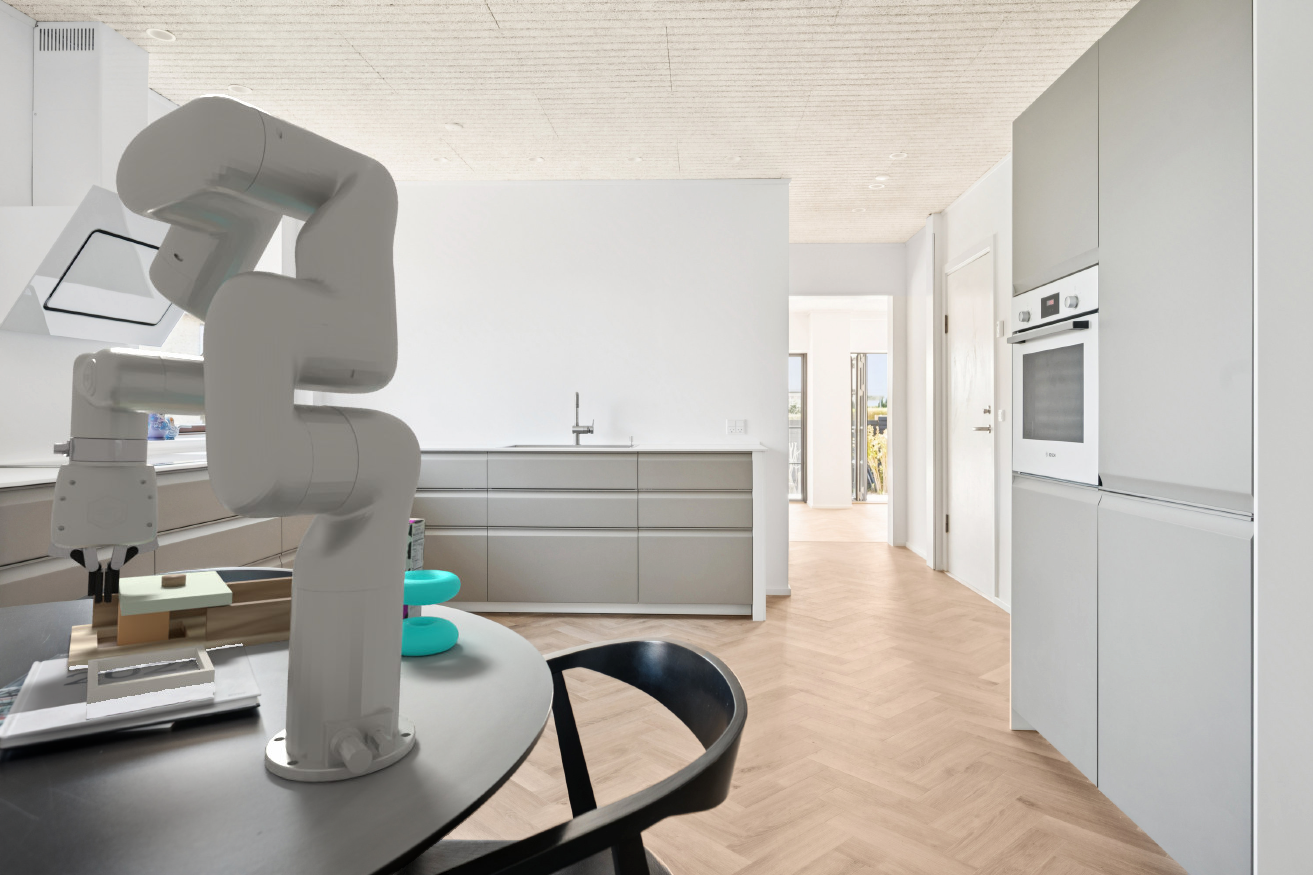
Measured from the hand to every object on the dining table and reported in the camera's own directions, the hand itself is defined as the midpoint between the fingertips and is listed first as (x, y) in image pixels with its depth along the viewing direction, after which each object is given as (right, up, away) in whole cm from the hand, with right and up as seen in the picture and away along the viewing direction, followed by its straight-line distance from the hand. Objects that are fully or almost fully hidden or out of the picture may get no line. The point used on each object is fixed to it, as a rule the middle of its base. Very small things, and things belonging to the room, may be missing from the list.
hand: (102, 600), depth 84 cm
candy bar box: (+26, -9, +20) cm, 34 cm away
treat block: (+3, -6, +3) cm, 7 cm away
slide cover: (+5, -1, +5) cm, 7 cm away
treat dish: (+13, -8, -10) cm, 18 cm away
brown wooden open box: (+8, -8, +7) cm, 13 cm away
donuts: (+36, -9, +10) cm, 38 cm away
